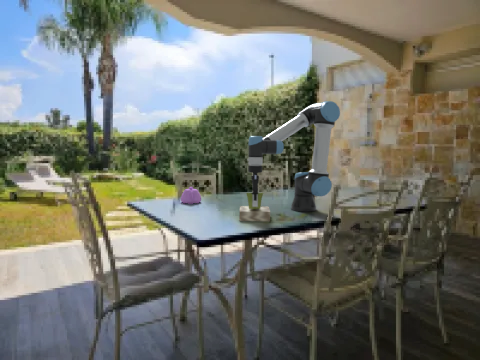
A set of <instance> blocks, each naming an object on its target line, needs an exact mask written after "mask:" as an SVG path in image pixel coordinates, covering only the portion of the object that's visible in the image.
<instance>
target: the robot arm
mask: <svg viewBox="0 0 480 360" xmlns="http://www.w3.org/2000/svg"><path fill="white" fill-rule="evenodd" d="M296 115H297V116H295V117H293V118H292V119H290V120H289V121H287V122H286V123H284V124H283V125H281V126H280V127H278V128H277V129H275V130H274V131H272V132H271V133H268V134H267V135H266V136H264V137H263V136H261V135H250V136H249V138H248V158H247V159H246V160H247V161H248V162H247V163H248V170H247V171H248V173H251V174H252V175H251V178H250V179H251V184H252V188H251V191H252V192H251V193H252V194H253V203H252V207H258V193H259V180H260V176H259V175H258V174H259V173H260V174H261V173H263V161H264V159H263V155H280V154H283V152H284V147H285V146H284V143H283V141H284V140H286V139H287V138H289V137H290V136H292V135H294V134H295V133H297V132H298V131H300V130H301V129H302V128H304V127H305V128H308V127H309V126H311V125H314V127H315V135H314V136H315V137H314V145H313V152H312V153H313V154H312V162H311V169H310V170H309V171H307V172H304V171H303V172H296V173H295V175H294V196H293V200H292V203H291V204H290V205H291V206H290V209H291V211H296V212H314V211H316V210H317V204H316V202H315V199H314V196H315V197H325V196H326V195H329V193H330V192H331V190H332V186H333V185H332V184H333V183H332V180H331V178H329V176H330V173H329V172H328V171H327V169H328V163H329V153H330V145H331V144H330V143H331V134H332V129H333V128H334V127H335V123H336V121H338V120H339V118H340V115H341V109H340V107H339V106H338V104H337V103H336V102H334V101H331V100H329V101H327V100H324V101H320V102H314V103H313V104H310V105H308V106H307V107H305V108H304V109H303V110H301V111H299V112H298V113H297V114H296Z"/></svg>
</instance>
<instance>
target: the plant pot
mask: <svg viewBox="0 0 480 360" xmlns="http://www.w3.org/2000/svg"><path fill="white" fill-rule="evenodd" d="M245 194H246V197H247V202H248V203H247V204H248V205H247V206H249V209H260V207H261V205H262V198H263V196H264V195H263V194H265V193H264V192H258V207H252V203H253V194H252V192H245Z"/></svg>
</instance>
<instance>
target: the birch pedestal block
mask: <svg viewBox="0 0 480 360" xmlns="http://www.w3.org/2000/svg"><path fill="white" fill-rule="evenodd" d="M238 216H239V220H238V221H240V222H271V210H270V207H269V206H263V205H262V206H261V207H260V209H249V205H239V215H238Z"/></svg>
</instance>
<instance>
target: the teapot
mask: <svg viewBox="0 0 480 360" xmlns="http://www.w3.org/2000/svg"><path fill="white" fill-rule="evenodd" d="M180 201H181V202H183V203H182V204H185V203H188V204H187V205H194V204H193V203H197V204H199V202H200V203H201V202H202V195H201V193H200V192H199V190H198V189H196V188H194V187H193V186H189V187H188V188H186V189H184V190H183V192H182V194H181V197H180Z"/></svg>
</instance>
